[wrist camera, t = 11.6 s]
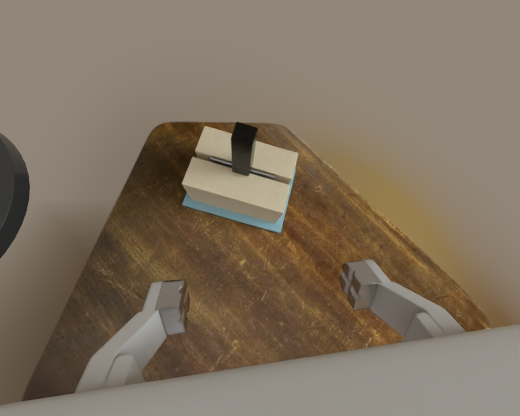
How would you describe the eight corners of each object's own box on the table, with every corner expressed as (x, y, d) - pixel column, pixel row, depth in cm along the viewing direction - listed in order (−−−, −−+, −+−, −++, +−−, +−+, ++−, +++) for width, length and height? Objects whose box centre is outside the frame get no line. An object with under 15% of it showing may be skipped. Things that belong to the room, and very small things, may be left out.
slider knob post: (212, 183, 33) (197, 128, 20) (216, 172, 33) (204, 112, 21) (267, 199, 33) (285, 154, 20) (270, 187, 33) (290, 137, 21)
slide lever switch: (182, 205, 32) (169, 189, 26) (206, 144, 35) (199, 116, 28) (279, 233, 32) (289, 224, 26) (295, 170, 35) (308, 148, 29)
